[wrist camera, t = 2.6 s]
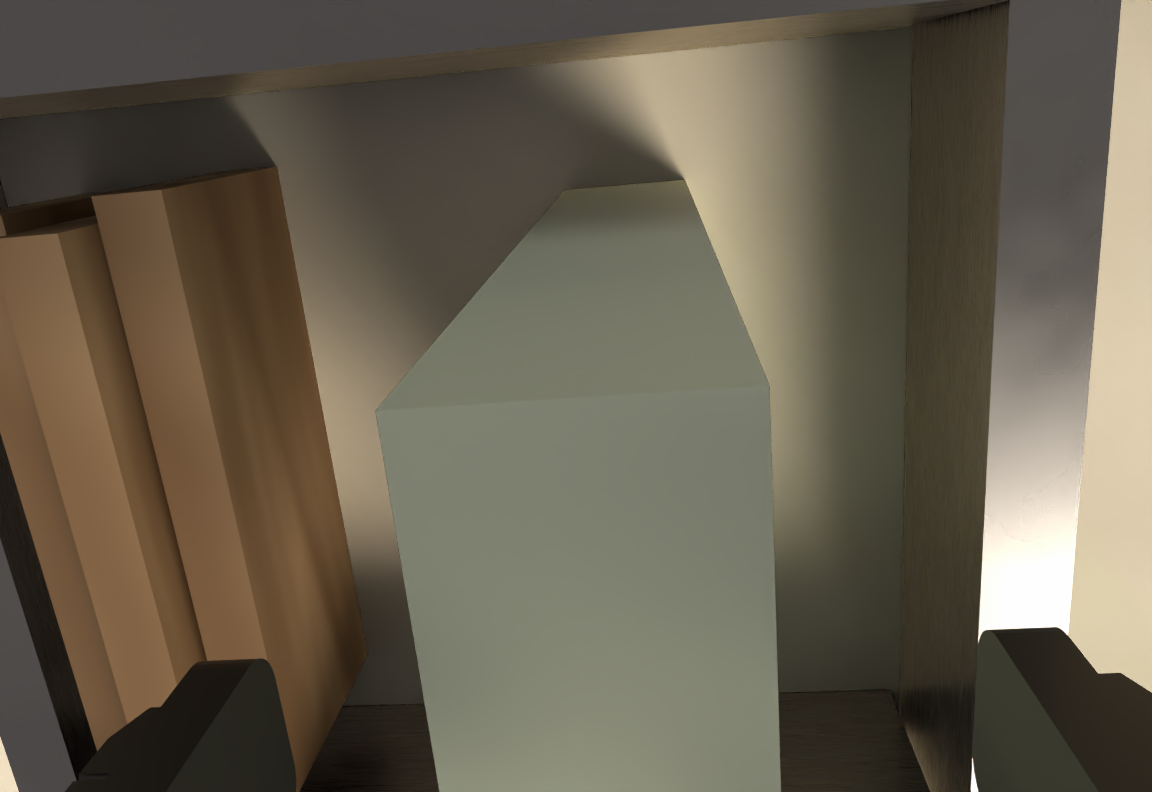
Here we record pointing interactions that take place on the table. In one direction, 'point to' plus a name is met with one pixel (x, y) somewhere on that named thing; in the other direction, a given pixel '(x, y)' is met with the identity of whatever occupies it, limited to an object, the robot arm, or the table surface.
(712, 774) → the pale green flat block
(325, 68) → the tray
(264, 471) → the offcut stack
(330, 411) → the table surface
